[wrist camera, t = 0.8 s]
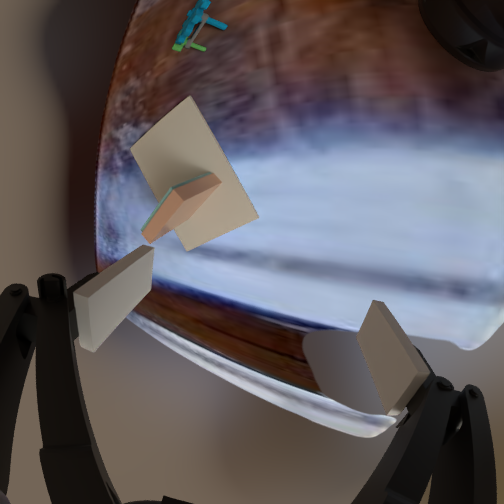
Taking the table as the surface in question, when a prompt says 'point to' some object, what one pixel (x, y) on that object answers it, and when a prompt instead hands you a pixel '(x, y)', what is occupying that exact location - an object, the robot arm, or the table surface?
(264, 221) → the table surface
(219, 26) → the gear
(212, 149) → the felt mat
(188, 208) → the tile
